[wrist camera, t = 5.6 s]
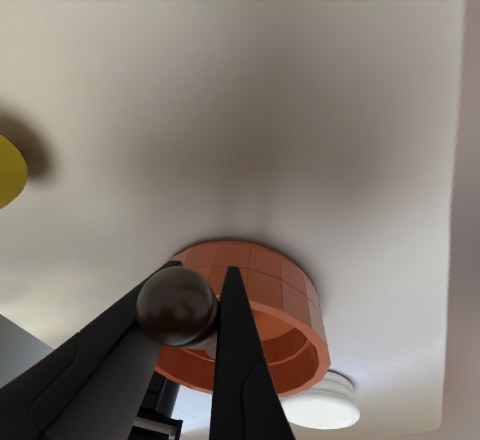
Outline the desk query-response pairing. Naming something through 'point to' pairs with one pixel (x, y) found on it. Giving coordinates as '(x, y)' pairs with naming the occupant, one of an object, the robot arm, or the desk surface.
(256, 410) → the robot arm
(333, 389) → the white round lid
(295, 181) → the desk surface
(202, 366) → the bowl
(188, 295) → the brown utensil
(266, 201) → the desk surface
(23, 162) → the lemon
